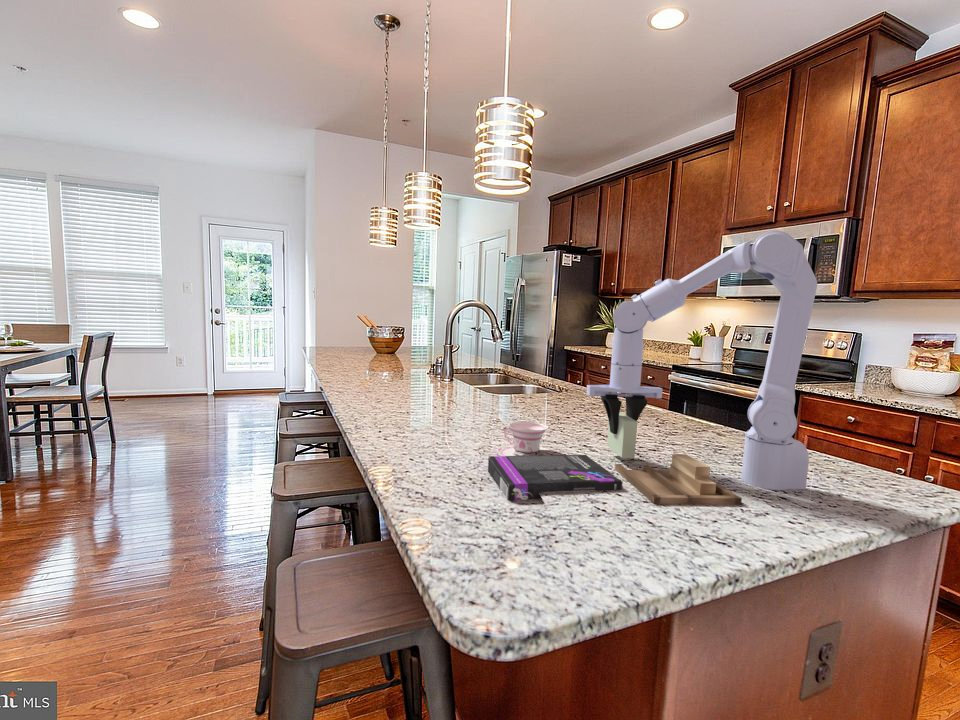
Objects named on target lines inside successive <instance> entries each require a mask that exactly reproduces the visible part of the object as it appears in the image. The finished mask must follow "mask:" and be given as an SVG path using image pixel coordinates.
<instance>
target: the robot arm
mask: <svg viewBox="0 0 960 720" xmlns="http://www.w3.org/2000/svg"><path fill="white" fill-rule="evenodd" d="M753 241H754V239H753V238H752V239H750V240H748V241H744V242H743V243H741V244H739V245H736V246H735V247H733V248H731V249H728V250H726V251H724V253H722V254H720V255H718V256H716V257H715V258H714V259H712V260H711V261H709V262H706V263H705V264H704V265H702V266H700V267H699V268H697V269H695V270H693V271H692V272H691V273H689V274H686V276H684V277H682V278H680V279H679V280H678V279H672V278H666V279H664V280H662V279H658V280H656V281H655V282H654V286H653V287H650V288H649V289H647V290H645V291H644V292H641V293H640V294H638V295H637V294H633V295H632V296H631V297H630V298H631V300H624V301H622V302H621V303H620V304H619V305H618V306H617V307H616V308H615V309H614V311H613V313H612V322H613V325H614V326H615V327H614V331H613V340H612V346H611V348H612V350H611V362H610V376H609V384H587V385H586V396H589V397H600V400H601V402H602V404H603V406H604V409H605V411H606V416H607V419H608V424H609V426H610V432H611V433H613V434H617V431H618V419H619V412H620V411H621V408H622V402H623V401H622V400H620V397H622V398H623V397H625V399H624V400H625V415H626V416H628V417H630V418H632V419H633V420H635V421H637V422H638V419H639V417H640V415H642V413H643V411H644V409H645V408H646V407H647V405H648V399H646V398H651V399H652V398H653V399H654V398H655V399H662V398H663V390H664V389H663V388H662V387H657V386H645V385H644V386H643V385H642V386H641V382H642V370H643V369H642V368H643V355H644V353H643V352H644V340H643V339H644V328H645V326H646V325H647V323H648V322H651V323H653V322H655V321H657V320H659V319H661V318H662V317H665V316H666V315H669V314H670V313H672V312H673V311H676V310H678V309H679V308H681V307H683V306H684V305H685V303H686V301H687V300H686V299H687V296H688V295H690V294H691V293H693V292H695V291H698V290H699V289H701V288H703V287H705V286H707V285H709V284H711V283H713V282H714V281H717V280H719V279H721V278H723V277H724V276H726V275H728V274H744V273H745V274H746V273H747V272H749V271H750V270H751V271H752V272H754V273H755V274H757V275H759V276H761V277H763V278H765V279H767V280H768V281H769V283H771V284H772V285H773V287H775V289H777V290H778V291H779V292H780V296H779V297H780V298H779V303H778V305H777V306H778V308H777V312H776V316H775V321H774V324H773V325H774V326H773V330H772V335H771V339H770V344H769V350H768V355H767V358H766V363H765V368H764V372H763V376H762V381H761V383H760V386H759V387H758V390H757V395H756V397H755V399H754V401H752V402H751V404H750V405H749V406H748V409H747V419H748V421H749V422H750V424H751V425H752V426H751V427H750V429H748V430H747V431H745V437H744V447H743V456H742V466H741V475H740V476H741V477H740V480H741V481H742V482H743V483H745V484H747V485H749V486H753V487H755V488H756V487H757V488H760V489H764V490H772V491H785V490H806V489H807V481H808V473H809V471H808V470H809V464H810V463H809V461H810V459H809V458H810V457H809V452H808V449H807V446H806V445H805V444H804V443H803V442H801V441H800V440H798V439H794V438H793V435H794V434H795V432H796V431H797V427H798V419H797V417H796V414H795V404H796V392H795V391H796V390H795V389H796V388H795V387H796V384H797V383H796V382H797V379H798V373H799V369H800V365H801V360H802V356H803V352H804V347H805V342H806V338H807V333H808V329H809V325H810V320H811V315H812V312H813V311H812V310H813V307H814V302H815V296H816V293H817V288H818V281H817V277H816V276H815V274H814V271H813V269H812V267H811V265H810V263H809V260H808V258H807V256H806V254H805V250H804V246H803V244H801V243H800V242H799V241H798V240H797V239H795V238H794V237H793V236H792V235H791V234H789V233H788V232H786V231H783V230H770V231H767V232H764V233H762V234H761V235H760V236H758V237H757V238H756V240H755V241H754V242H753ZM752 242H753V244H752V245H751V243H752Z"/></svg>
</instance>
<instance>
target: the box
mask: <svg viewBox="0 0 960 720" xmlns="http://www.w3.org/2000/svg"><path fill="white" fill-rule="evenodd" d="M487 472H488V473H489V475H490V477H491V479H492V480H493V481H494V482H495V484H496V485H497V487H498V488H499V489H500V491H501V492H502V495H504V497H505V499H506V500H507V501H528V500H543V498H542V496H541V495H540V494H546V493H547V494H549V493H551V494H552V493H553V494H554V493H575V492H577V493H579V492H596V491H597V492H598V491H599V492H600V491H601V492H602V491H603V492H604V491H622V490H623V485H624V483H623V480H622V479H620V478H618V477H616V476H615V475H614V474H612V473H611V472H610V471H608V470H607V469H606V468H604V467H603V466H602V465H600V464H599V463H597V461H594V460H593V459H591V457H589V455H587V454H553V455H552V454H551V455H549V454H548V455H547V454H546V455H539V454H538V455H537V454H536V455H516V456H499V455H497V456H496V455H493V456H490V455H489V456H488V461H487Z"/></svg>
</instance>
